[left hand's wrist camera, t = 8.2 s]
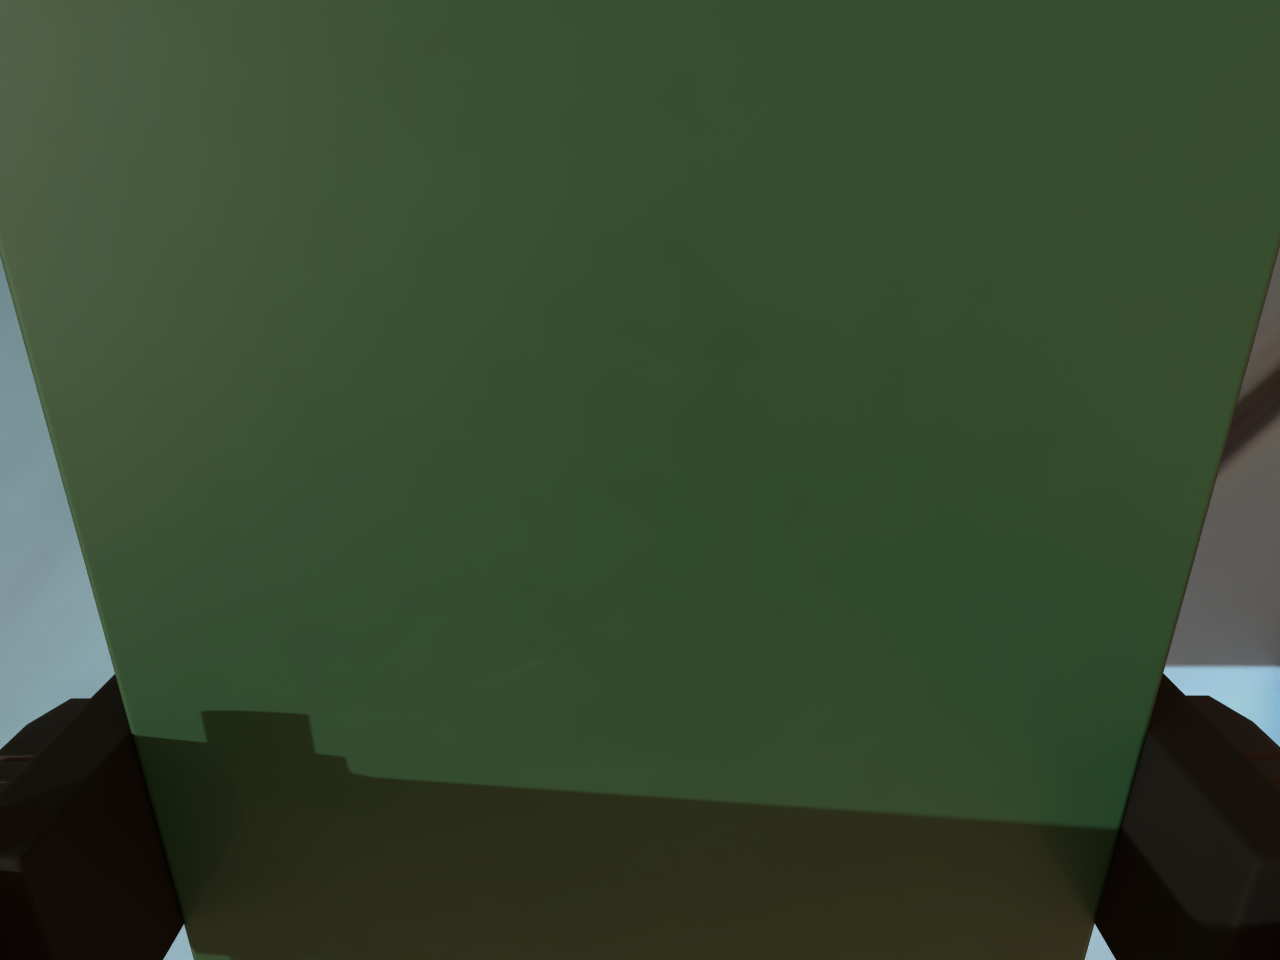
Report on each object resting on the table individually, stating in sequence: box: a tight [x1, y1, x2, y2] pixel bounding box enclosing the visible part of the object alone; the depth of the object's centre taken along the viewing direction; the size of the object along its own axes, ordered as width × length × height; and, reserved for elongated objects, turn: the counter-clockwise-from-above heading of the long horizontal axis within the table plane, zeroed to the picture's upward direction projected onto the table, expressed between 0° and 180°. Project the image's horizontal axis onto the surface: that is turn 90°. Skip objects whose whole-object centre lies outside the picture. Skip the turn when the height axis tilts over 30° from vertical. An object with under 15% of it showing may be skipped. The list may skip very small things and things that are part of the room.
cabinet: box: [0, 0, 1280, 960], centre depth 12 cm, size 20×10×11 cm, turn 0°
